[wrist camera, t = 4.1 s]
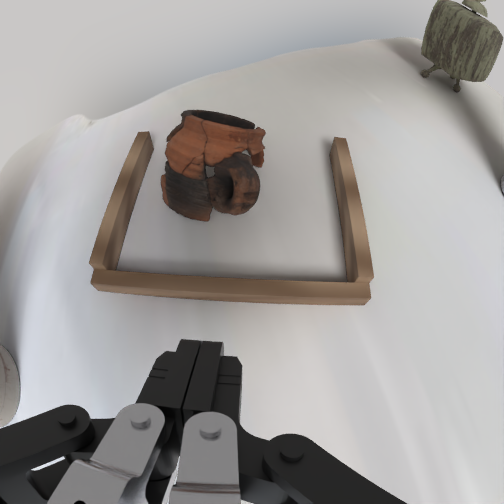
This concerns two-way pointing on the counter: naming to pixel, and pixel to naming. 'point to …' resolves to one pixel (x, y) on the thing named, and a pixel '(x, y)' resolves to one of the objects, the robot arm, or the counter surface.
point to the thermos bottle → (8, 387)
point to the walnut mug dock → (233, 288)
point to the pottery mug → (212, 165)
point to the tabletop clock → (461, 41)
